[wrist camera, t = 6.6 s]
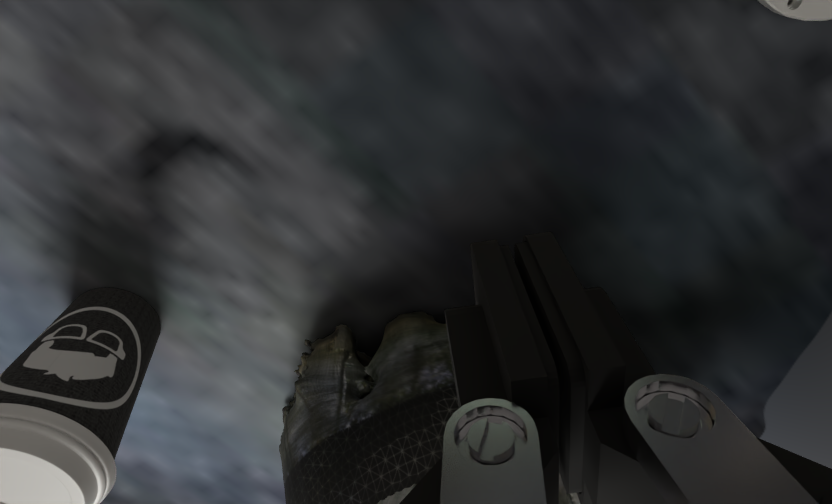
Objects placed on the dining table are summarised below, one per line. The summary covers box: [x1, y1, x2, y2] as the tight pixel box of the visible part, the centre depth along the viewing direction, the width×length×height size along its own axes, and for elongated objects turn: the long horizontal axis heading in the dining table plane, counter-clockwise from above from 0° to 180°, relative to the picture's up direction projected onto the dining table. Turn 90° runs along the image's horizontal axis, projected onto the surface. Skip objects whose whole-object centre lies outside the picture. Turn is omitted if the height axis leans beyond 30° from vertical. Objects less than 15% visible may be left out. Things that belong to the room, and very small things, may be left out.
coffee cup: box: [0, 288, 161, 504], centre depth 35 cm, size 10×10×15 cm
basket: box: [279, 311, 580, 504], centre depth 43 cm, size 28×35×16 cm
